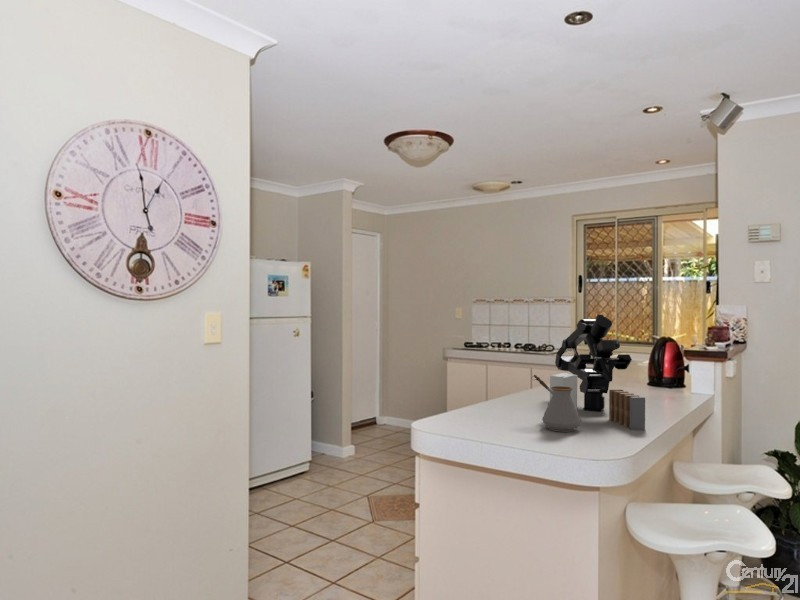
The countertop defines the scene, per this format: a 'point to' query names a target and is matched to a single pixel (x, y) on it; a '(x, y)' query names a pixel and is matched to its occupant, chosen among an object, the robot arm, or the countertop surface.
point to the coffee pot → (560, 409)
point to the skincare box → (565, 384)
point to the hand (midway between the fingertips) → (610, 380)
